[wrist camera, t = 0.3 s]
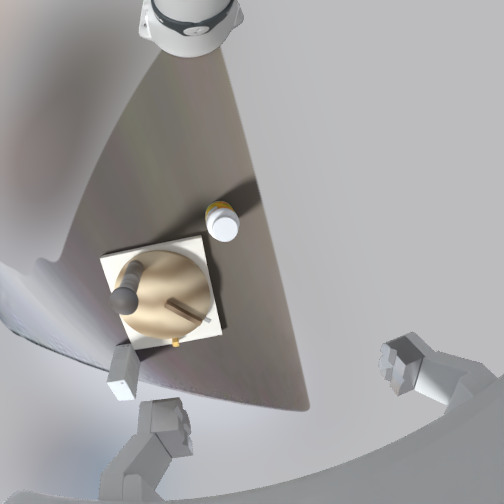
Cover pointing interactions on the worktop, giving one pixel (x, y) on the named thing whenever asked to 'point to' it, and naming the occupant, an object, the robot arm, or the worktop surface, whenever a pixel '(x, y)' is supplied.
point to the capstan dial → (161, 294)
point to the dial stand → (187, 248)
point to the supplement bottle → (222, 221)
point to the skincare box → (124, 372)
